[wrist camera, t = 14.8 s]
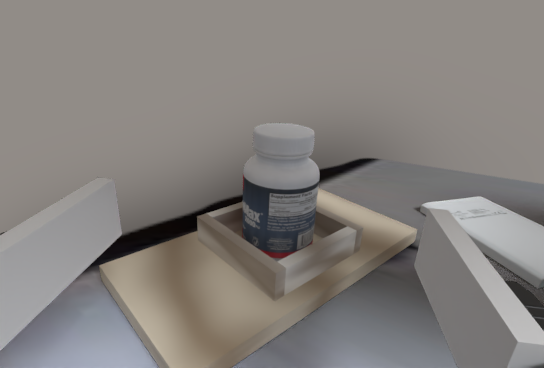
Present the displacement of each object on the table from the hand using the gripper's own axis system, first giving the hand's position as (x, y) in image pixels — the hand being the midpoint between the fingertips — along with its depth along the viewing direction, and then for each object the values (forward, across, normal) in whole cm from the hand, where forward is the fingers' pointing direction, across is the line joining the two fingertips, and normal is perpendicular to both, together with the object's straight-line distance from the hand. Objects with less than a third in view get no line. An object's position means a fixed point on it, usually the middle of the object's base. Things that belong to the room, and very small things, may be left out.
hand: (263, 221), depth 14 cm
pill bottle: (+9, 0, -7) cm, 12 cm away
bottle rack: (+9, 0, -8) cm, 12 cm away
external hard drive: (+17, +20, -9) cm, 27 cm away
